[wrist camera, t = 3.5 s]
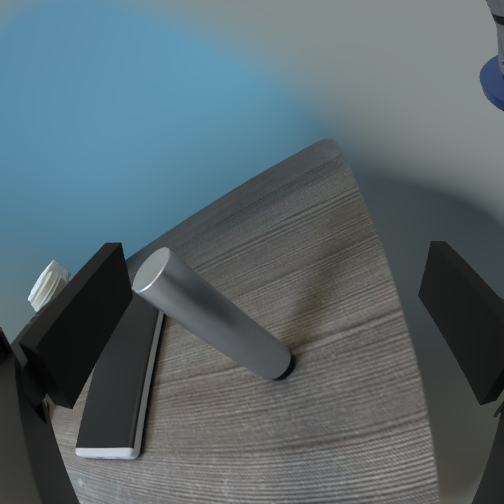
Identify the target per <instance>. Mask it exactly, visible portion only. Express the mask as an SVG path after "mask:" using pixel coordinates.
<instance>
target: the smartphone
mask: <svg viewBox="0 0 504 504" xmlns="http://www.w3.org/2000/svg"><path fill="white" fill-rule="evenodd" d="M132 292H133V296H134V297H133V299H132V301H131V302H130V304H129V306H128V308H127V309H126V311H125V313H124V314H123V316H122V318H121V320H120V321H119V323H118V325H117V326H116V328H115V330H114V332H113V333H112V335H111V337H110V339H109V341H108V342H107V344H106V346H105V348H104V350H103V351H102V353H101V355H100V357H99V359H98V361H97V362H96V365H95V369H94V373H93V376H92V380H91V384H90V388H89V391H88V395H87V399H86V403H85V408H84V412H83V416H82V420H81V425H80V429H79V434H78V439H77V444H76V449H75V451H76V454H77V455H78V456H80V457H83V458H100V459H136V458H137V457H138V455H139V453H140V447H141V439H142V432H143V426H144V419H145V412H146V406H147V400H148V394H149V388H150V382H151V377H152V371H153V366H154V360H155V355H156V350H157V345H158V340H159V335H160V330H161V325H162V320H163V316H164V313H163V312H161V311H160V310H159V309H157V308H156V307H155V306H153V305H152V304H150V303H149V302H148V301H146V300H145V299H144V298H142V297H141V296H140V295H138V294H137V293H136V292H135V291H134V290H133V288H132Z"/></svg>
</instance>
